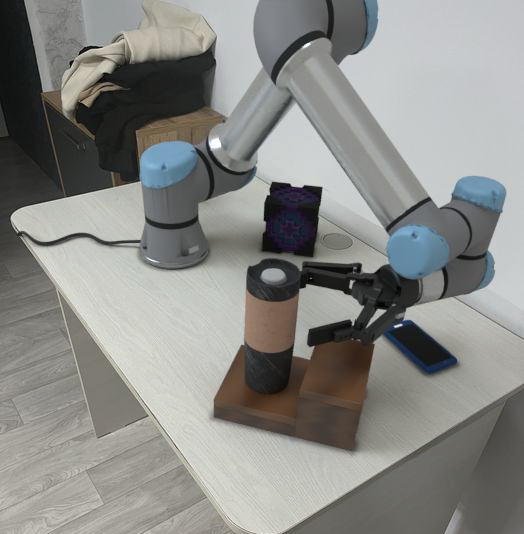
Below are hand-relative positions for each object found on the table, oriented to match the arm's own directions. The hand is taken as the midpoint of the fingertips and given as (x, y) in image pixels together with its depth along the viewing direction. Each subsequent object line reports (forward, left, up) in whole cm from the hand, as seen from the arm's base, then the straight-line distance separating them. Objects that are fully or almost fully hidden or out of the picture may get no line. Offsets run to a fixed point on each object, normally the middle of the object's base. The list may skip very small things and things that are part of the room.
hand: (287, 311), depth 79 cm
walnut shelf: (+2, -2, -17) cm, 17 cm away
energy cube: (-11, +51, -17) cm, 55 cm away
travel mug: (-2, -2, -13) cm, 13 cm away
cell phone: (+21, +20, -17) cm, 34 cm away
